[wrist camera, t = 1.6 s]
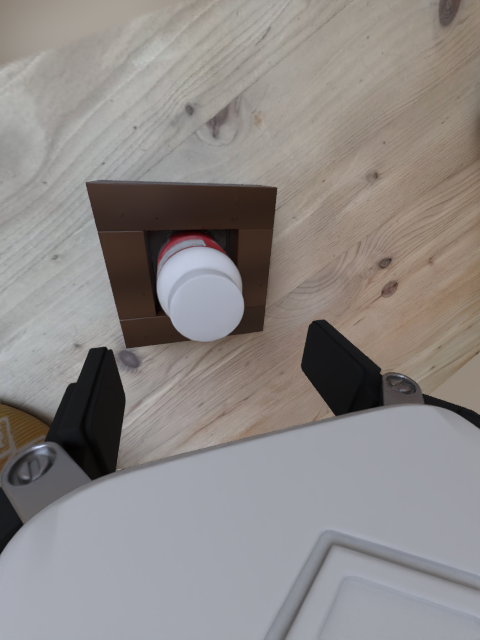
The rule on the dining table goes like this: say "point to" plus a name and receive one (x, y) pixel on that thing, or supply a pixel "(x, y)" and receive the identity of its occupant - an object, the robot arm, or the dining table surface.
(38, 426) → the planter
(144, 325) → the holder
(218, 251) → the pill bottle
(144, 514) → the robot arm
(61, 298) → the dining table surface
